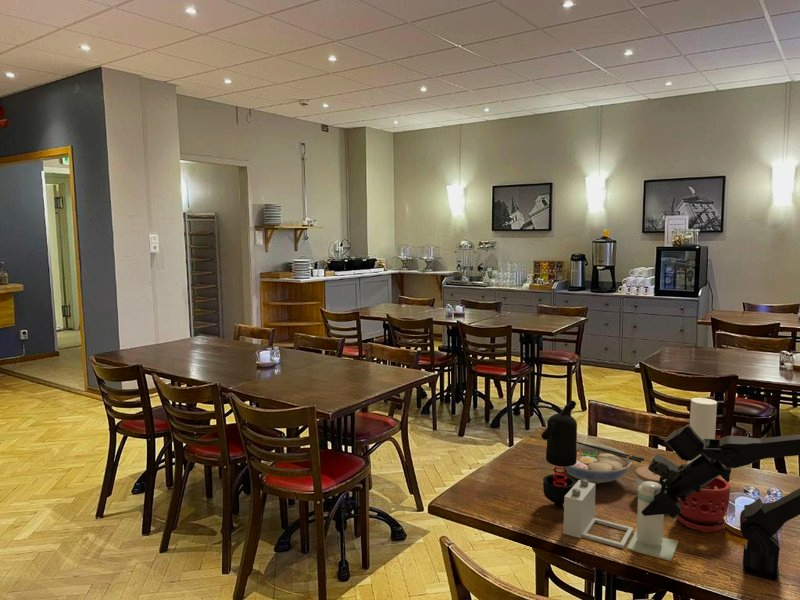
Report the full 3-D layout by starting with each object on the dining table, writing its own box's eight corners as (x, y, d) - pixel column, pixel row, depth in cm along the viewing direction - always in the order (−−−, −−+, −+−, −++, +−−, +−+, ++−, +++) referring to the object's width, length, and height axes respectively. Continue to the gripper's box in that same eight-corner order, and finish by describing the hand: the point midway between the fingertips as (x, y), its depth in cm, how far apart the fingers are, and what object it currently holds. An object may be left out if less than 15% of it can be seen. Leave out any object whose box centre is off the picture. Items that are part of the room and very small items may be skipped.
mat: (678, 542, 151) (678, 541, 151) (671, 561, 143) (671, 559, 143) (636, 531, 156) (636, 530, 156) (626, 549, 148) (626, 547, 148)
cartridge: (665, 537, 151) (667, 483, 149) (660, 548, 146) (662, 492, 144) (639, 530, 154) (641, 477, 153) (633, 541, 149) (635, 486, 148)
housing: (634, 529, 158) (635, 488, 156) (622, 550, 148) (624, 506, 146) (577, 514, 166) (578, 475, 164) (563, 533, 156) (564, 491, 155)
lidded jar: (628, 498, 176) (629, 467, 174) (644, 487, 183) (645, 457, 182) (665, 510, 168) (667, 478, 167) (680, 498, 176) (682, 467, 174)
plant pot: (738, 527, 159) (741, 483, 157) (707, 540, 152) (709, 495, 151) (692, 507, 170) (695, 466, 168) (661, 518, 163) (664, 476, 162)
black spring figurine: (558, 495, 178) (560, 396, 174) (584, 506, 171) (587, 403, 167) (527, 508, 170) (529, 404, 166) (553, 520, 163) (556, 412, 159)
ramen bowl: (537, 477, 191) (537, 452, 190) (577, 458, 206) (578, 435, 205) (610, 503, 172) (611, 476, 171) (648, 481, 188) (649, 455, 187)
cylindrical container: (717, 481, 187) (722, 402, 184) (700, 485, 184) (704, 405, 181) (698, 472, 193) (702, 396, 190) (681, 476, 191) (685, 399, 188)
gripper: (675, 435, 153) (628, 469, 160) (665, 460, 137) (613, 496, 144) (708, 471, 150) (659, 504, 157) (702, 500, 134) (647, 535, 141)
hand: (644, 508), depth 150 cm, fingers closed on cartridge, 6 cm apart
